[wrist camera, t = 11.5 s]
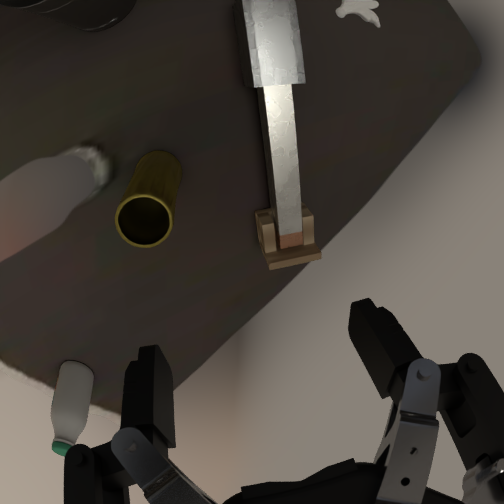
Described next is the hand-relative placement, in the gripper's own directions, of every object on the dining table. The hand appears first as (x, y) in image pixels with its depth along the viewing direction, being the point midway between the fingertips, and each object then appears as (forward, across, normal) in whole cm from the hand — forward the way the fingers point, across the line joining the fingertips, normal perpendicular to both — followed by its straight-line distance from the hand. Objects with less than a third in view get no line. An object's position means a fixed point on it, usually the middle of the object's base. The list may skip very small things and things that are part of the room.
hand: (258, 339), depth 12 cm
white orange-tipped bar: (+29, -8, +1) cm, 30 cm away
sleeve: (+30, -8, -13) cm, 34 cm away
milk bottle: (+30, +37, +36) cm, 60 cm away
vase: (+30, +7, +1) cm, 31 cm away
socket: (+30, -8, +12) cm, 33 cm away
